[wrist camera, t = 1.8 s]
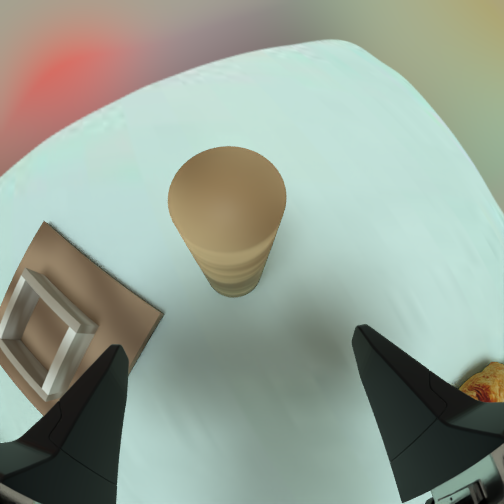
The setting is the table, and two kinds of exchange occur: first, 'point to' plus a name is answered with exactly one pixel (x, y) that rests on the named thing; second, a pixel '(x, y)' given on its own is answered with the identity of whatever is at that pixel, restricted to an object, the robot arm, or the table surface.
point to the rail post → (228, 214)
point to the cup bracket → (65, 319)
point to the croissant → (486, 384)
